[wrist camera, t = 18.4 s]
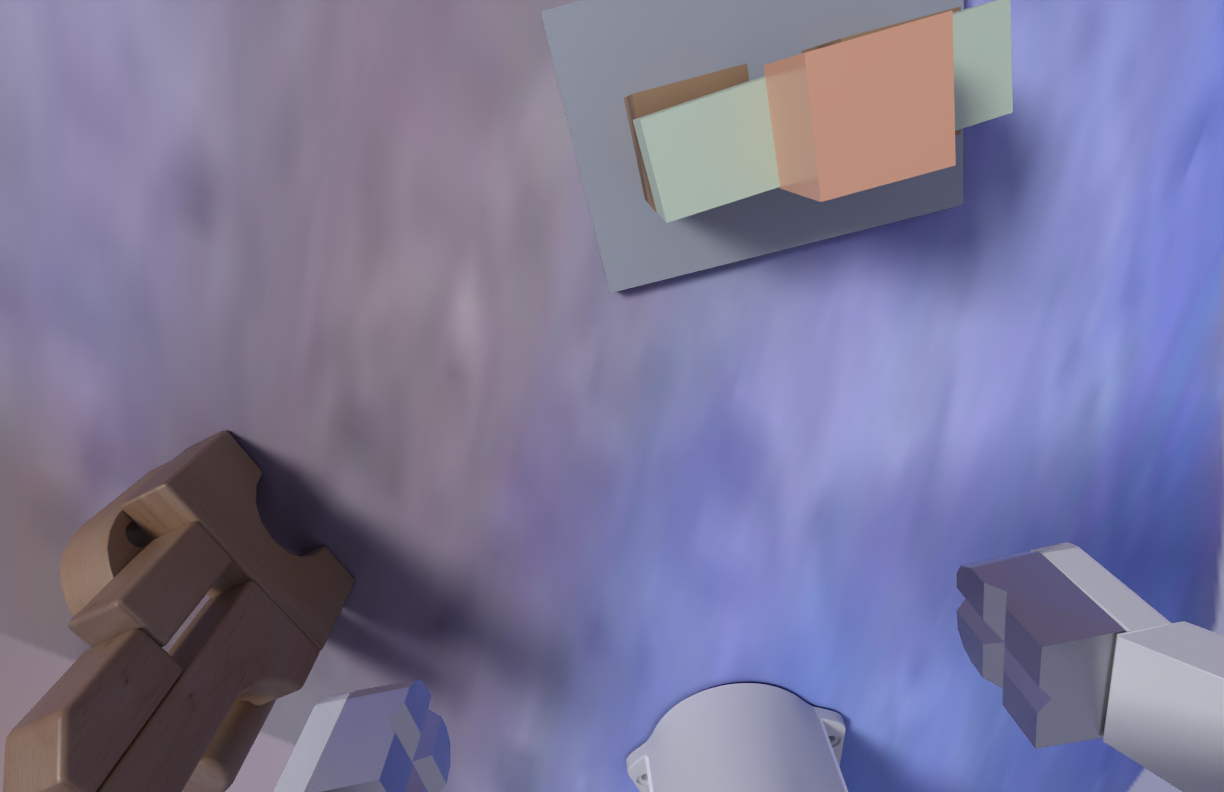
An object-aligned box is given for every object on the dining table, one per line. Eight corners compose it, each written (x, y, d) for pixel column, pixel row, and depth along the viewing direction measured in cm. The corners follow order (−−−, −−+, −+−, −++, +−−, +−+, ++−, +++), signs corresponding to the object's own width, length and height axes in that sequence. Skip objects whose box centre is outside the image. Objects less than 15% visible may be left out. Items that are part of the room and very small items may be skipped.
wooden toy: (142, 469, 39) (-469, 956, 16) (227, 427, 38) (-293, 881, 15) (294, 629, 45) (4, 1148, 22) (371, 596, 44) (150, 1102, 21)
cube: (891, 157, 24) (955, 165, 20) (780, 188, 24) (820, 202, 20) (883, 30, 22) (952, 10, 18) (763, 65, 23) (804, 53, 18)
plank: (961, 113, 27) (1013, 112, 24) (656, 211, 28) (666, 222, 25) (955, 12, 25) (1010, -5, 22) (632, 119, 26) (639, 119, 23)
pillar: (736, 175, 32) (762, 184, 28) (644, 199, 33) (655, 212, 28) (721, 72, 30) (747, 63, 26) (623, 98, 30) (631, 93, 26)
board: (951, 202, 35) (963, 204, 33) (609, 287, 36) (610, 293, 35) (949, -97, 29) (964, -106, 28) (541, 15, 30) (540, 11, 29)
